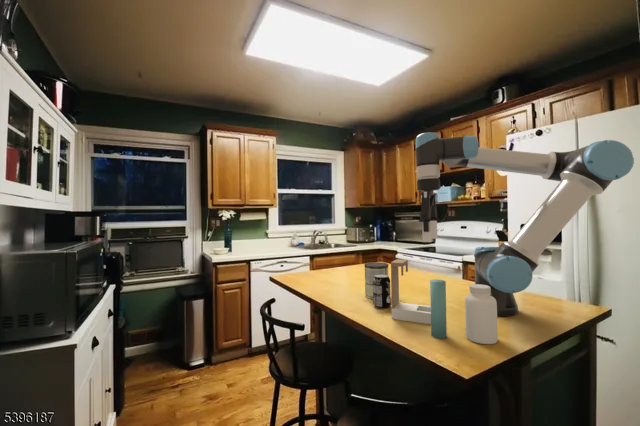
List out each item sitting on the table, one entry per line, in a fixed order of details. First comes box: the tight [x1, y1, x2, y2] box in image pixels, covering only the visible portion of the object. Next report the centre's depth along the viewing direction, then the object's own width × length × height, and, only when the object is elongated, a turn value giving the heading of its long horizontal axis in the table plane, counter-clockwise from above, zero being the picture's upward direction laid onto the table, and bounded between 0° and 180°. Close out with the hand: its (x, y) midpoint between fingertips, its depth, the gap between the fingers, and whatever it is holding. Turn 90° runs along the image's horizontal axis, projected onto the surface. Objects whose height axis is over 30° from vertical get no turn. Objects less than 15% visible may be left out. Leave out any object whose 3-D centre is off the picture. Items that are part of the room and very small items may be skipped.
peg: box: [429, 278, 448, 340], centre depth 88 cm, size 4×4×16 cm
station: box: [390, 258, 431, 325], centre depth 104 cm, size 14×8×19 cm, turn 62°
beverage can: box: [372, 274, 392, 310], centre depth 117 cm, size 7×7×12 cm
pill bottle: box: [464, 283, 499, 345], centre depth 86 cm, size 8×8×15 cm
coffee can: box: [364, 261, 389, 300], centre depth 132 cm, size 10×10×14 cm
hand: (430, 240), depth 104 cm, fingers open, 13 cm apart
